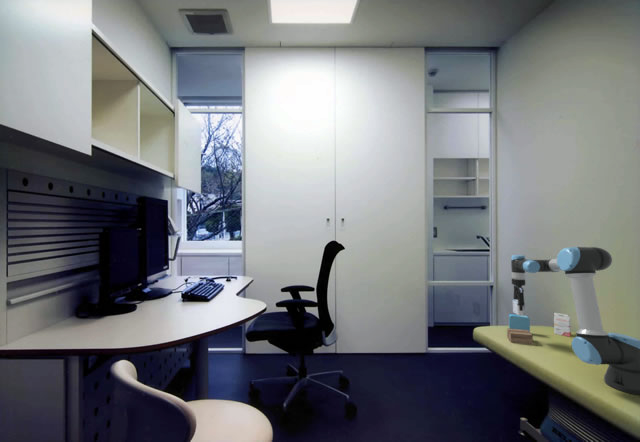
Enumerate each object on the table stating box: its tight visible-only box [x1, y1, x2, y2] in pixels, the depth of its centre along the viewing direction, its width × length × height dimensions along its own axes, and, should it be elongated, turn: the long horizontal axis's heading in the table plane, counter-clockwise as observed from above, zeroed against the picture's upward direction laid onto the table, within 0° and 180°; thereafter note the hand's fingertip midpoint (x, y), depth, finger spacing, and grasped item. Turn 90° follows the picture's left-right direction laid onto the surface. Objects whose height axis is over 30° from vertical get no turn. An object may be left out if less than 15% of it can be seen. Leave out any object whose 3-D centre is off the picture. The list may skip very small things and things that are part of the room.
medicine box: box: [512, 298, 526, 316], centre depth 200 cm, size 8×4×9 cm, turn 168°
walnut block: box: [506, 327, 534, 346], centre depth 199 cm, size 10×12×6 cm
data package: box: [508, 313, 531, 333], centre depth 215 cm, size 12×4×12 cm, turn 60°
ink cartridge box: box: [553, 312, 572, 338], centre depth 211 cm, size 9×5×15 cm, turn 43°
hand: (518, 313), depth 200 cm, fingers closed on medicine box, 8 cm apart
